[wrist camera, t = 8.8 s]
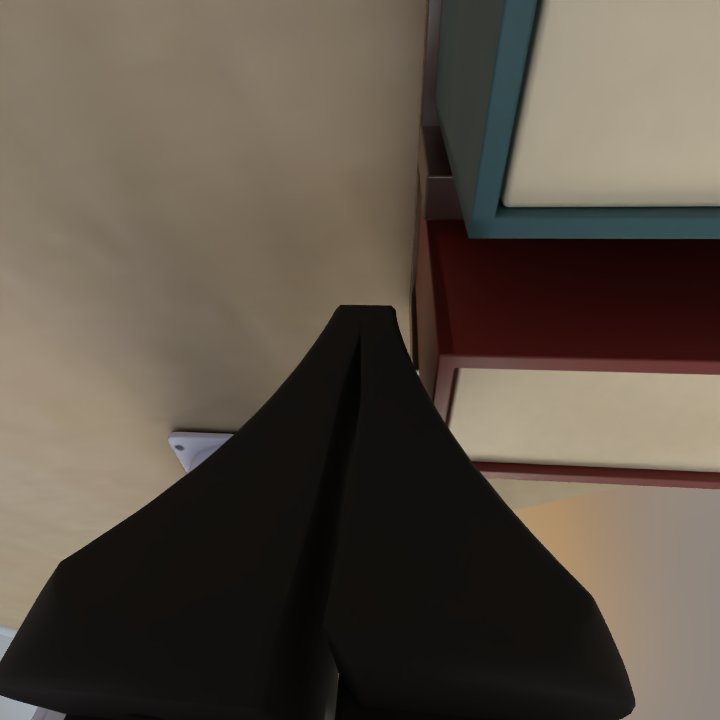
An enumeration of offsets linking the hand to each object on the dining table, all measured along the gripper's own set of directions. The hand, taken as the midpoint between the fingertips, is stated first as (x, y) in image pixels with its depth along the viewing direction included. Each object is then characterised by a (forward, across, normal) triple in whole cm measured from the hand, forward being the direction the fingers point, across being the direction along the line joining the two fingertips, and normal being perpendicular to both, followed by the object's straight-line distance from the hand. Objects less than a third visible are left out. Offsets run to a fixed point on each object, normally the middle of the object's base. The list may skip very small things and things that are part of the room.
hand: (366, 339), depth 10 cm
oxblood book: (+5, -6, 0) cm, 8 cm away
